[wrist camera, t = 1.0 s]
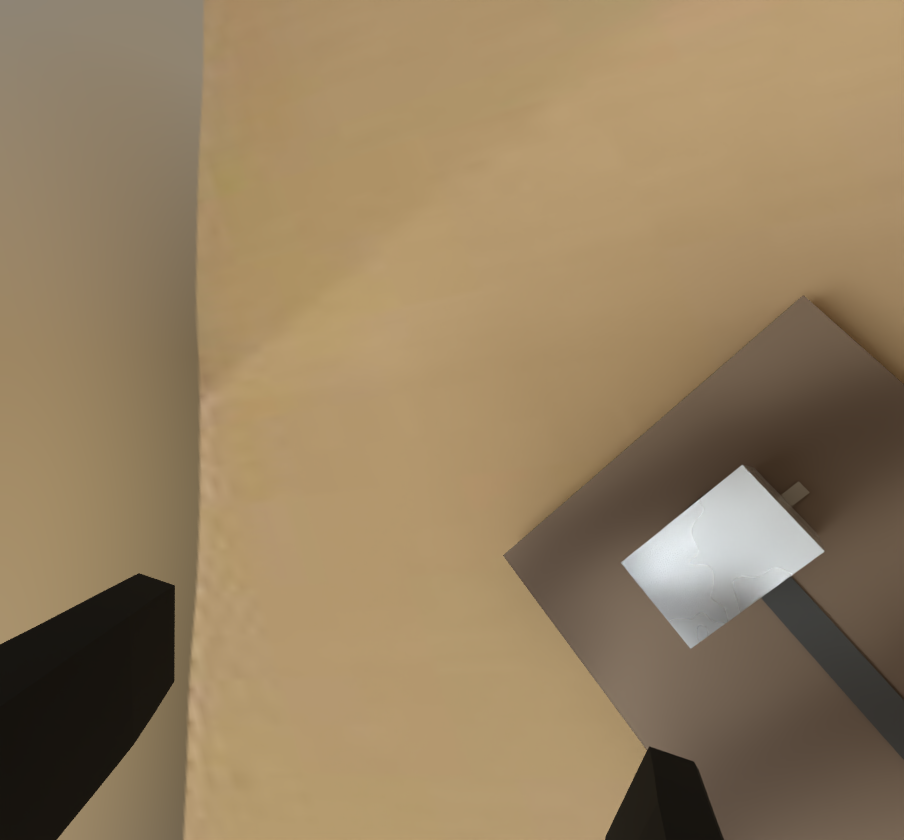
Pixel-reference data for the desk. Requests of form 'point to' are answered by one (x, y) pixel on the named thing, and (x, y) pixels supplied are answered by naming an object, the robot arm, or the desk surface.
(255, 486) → the desk surface
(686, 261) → the desk surface
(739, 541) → the fader tab
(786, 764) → the console board
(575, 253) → the desk surface
